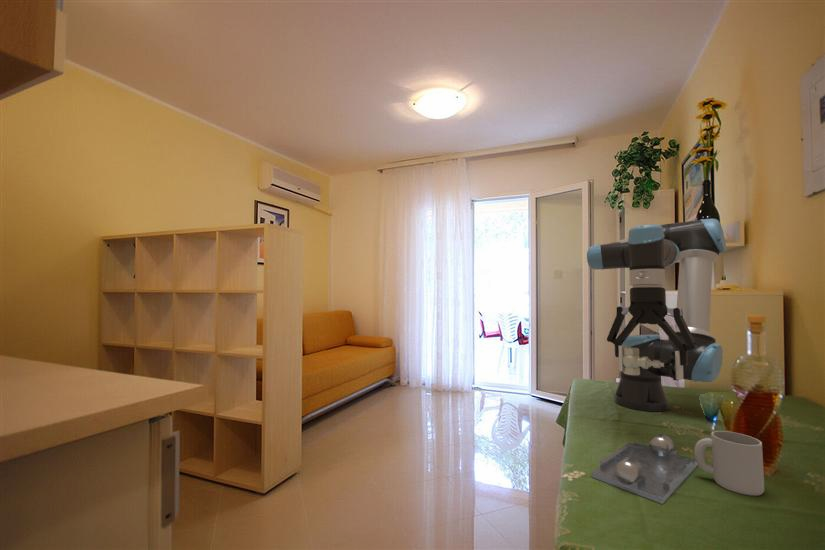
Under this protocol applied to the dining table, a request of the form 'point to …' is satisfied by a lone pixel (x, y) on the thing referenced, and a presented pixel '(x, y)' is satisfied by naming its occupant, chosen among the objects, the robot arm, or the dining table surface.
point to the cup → (733, 461)
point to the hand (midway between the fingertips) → (649, 374)
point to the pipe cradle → (646, 468)
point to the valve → (645, 362)
